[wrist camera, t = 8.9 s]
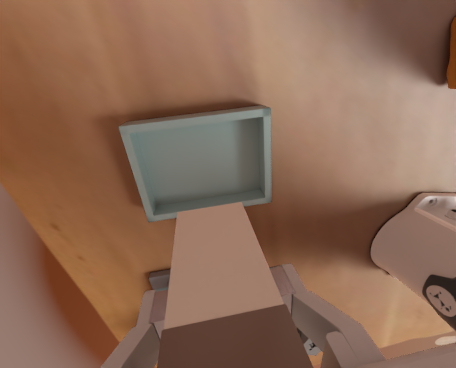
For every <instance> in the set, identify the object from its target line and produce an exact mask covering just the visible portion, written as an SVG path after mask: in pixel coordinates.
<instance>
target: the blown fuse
mask: <svg viewBox="0 0 456 368" xmlns="http://www.w3.org/2000/svg"><path fill="white" fill-rule="evenodd" d="M157 368H313V366H312V364H311V361H310V359H309V357H308V354H307V352H306V350H305V347H304V345H303V342H302V340H301V338H300V335H299V333H298V331H297V328H296V326H295V324H294V321H293V319H292V317H291V314H290V312H289V310H288V307H287V305H286V304H284V302H283V300H282V298H281V295H280V293H279V290H278V288H277V286H276V283H275V281H274V278H273V276H272V274H271V271H270V269H269V266H268V264H267V262H266V259H265V257H264V254H263V252H262V250H261V247H260V245H259V242H258V240H257V238H256V235H255V233H254V230H253V228H252V226H251V223H250V221H249V218H248V216H247V213H246V211H245V209H244V206H243V204H242V202H237V203H231V204H225V205H219V206H213V207H207V208H201V209H194V210H188V211H182V212H177V220H176V228H175V237H174V246H173V254H172V263H171V271H170V280H169V289H168V297H167V306H166V315H165V323H164V330H162V332H161V340H160V348H159V356H158V364H157Z"/></svg>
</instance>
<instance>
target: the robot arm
mask: <svg viewBox="0 0 456 368" xmlns="http://www.w3.org/2000/svg"><path fill="white" fill-rule="evenodd" d="M371 258H372V260H373V262H374V263H375V264H376V265H377V266H379V267H381V268H382V269H384V270H385V271H387V272H388V273H389V274H390V275H391V276H392V277H394V278H395V279H398V280H399V281H401V282H402V283H403V284H405V285H406V286H407V287H408V288H410V289H411V290H412V291H413V292H415V293H416V294H417V295H419V296H420V297H421V298H422V299H424V300H425V301H426V302H427V303H429V304H430V305H431V306H432V307H433V308H434V309H435V311H436V312H437V313H438V315H439V316H440V317H441V318H443V319H444V320H445V321H446V322H447V323H448V324H449V325H450V327H452V328H453V329H454V330H455V331H456V193H421V194H419V195H418V196H417V197H416V198H415V199H414V200H413V201H412V202H411V203H410V204H409V205H408V206H407V207H406V208H405V209H404V210H403V211H401V212H400V213H398V214H397V215H395V216H394V217H393V218H391V219H390V220H389V221H388V222H387V223H386V224H385V225H384V226H383V227H382V228H381V229H380V231H379V232H378V233H377V235H376V237H375V238H374V241H373V243H372V246H371ZM269 269H270V271H271V274H272V276H273V278H274V281H275V283H276V286H277V288H278V290H279V293H280V295H281V298H282V300H283V302H284V304H286V305H287V307H288V310H289V312H290V314H291V317H292V319H293V321H294V324H295V326H296V327H297V328H298V329H299V330H300V331H302V332H303V333H304V334H305V335H306V336H307V337H308V338H309V339H310V340H311V341H312V342H313V343H314V344H315V345H316V346H317V347H318V348H319V349H320V350H321V351H322V352H323V357H322V363H321V368H456V343H452V344H448V345H444V346H439V347H435V348H431V349H427V350H423V351H419V352H415V353H411V354H408V355H403V356H399V357H395V358H391V359H387V360H386V359H385V357H384V356H383V355H382V353H381V352H380V351H379V349H378V347H377V346H376V344H375V343H374V342H373V340H372V339H371V337H370V336H369V334H368V333H367V332H366V330H365V329H364V327H363V326H362V325H361V324H360V323H358V322H357V321H355V320H354V319H352V318H351V317H349V316H348V315H346V314H345V313H343V312H342V311H340V310H339V309H337V308H336V307H334V306H333V305H331V304H330V303H328V302H327V301H325V300H324V299H322V298H321V297H319V296H318V295H316V294H315V293H313V292H312V291H307V290H306V288H305V286H304V284H303V282H302V281H301V279H300V277H299V275H298V274H297V272H296V270H295V268H294V266H293V265H292V264H291V263H290V264H284V265H279V266H274V267H269ZM168 289H169V287H166V288H160V289H155V290H149V291H145V293H144V294H143V298H142V302H141V307H140V311H139V315H138V319H137V324H136V327H132V329H131V330H130V331H129V332H128V334H127V335H126V336H125V337H124V339H123V340H122V341H121V342H120V344H119V345H118V346H117V347H116V349H115V350H114V351H113V353H112V354H111V355H110V356H109V357H108V359H107V360H106V361H105V362H104V364H103V365H102V366H101V367H100V368H154V366H155V365H156V363H157V361H158V356H159V348H160V340H161V332H162V330H164V323H165V315H166V306H167V297H168Z"/></svg>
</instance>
